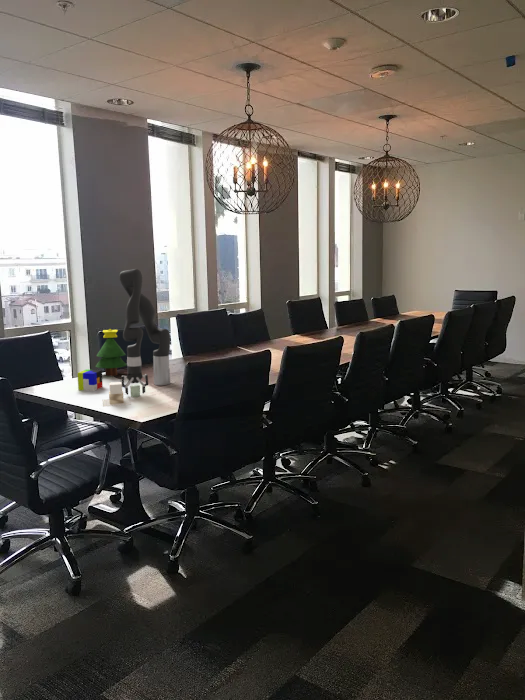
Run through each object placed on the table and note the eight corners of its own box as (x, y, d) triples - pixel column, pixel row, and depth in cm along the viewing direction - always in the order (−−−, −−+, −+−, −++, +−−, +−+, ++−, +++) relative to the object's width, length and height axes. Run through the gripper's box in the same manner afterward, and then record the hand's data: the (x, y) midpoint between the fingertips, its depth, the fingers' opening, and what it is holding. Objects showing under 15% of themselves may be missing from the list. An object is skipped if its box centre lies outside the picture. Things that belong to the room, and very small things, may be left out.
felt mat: (129, 398, 319) (129, 397, 319) (131, 405, 306) (131, 404, 306) (102, 400, 315) (102, 399, 315) (102, 407, 302) (102, 406, 302)
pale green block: (139, 395, 326) (139, 384, 325) (140, 397, 321) (140, 386, 320) (130, 396, 325) (130, 385, 324) (131, 398, 320) (130, 387, 319)
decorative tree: (95, 378, 368) (93, 330, 363) (96, 372, 387) (94, 326, 382) (127, 377, 372) (125, 329, 367) (126, 371, 391) (125, 326, 386)
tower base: (122, 399, 315) (122, 390, 314) (123, 403, 308) (123, 393, 307) (109, 400, 313) (108, 391, 312) (109, 404, 306) (109, 394, 305)
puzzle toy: (94, 390, 337) (93, 373, 335) (78, 390, 339) (77, 372, 337) (102, 386, 347) (101, 370, 345) (86, 386, 349) (86, 369, 347)
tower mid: (121, 391, 313) (121, 381, 312) (122, 393, 307) (121, 384, 307) (109, 391, 311) (109, 382, 311) (110, 394, 306) (109, 384, 305)
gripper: (146, 362, 326) (147, 391, 328) (120, 364, 322) (121, 393, 324) (148, 365, 319) (149, 394, 321) (121, 366, 315) (122, 396, 317)
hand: (135, 393), depth 323 cm, fingers open, 8 cm apart
